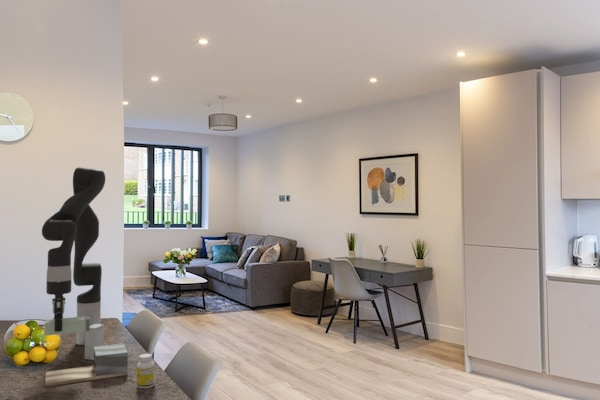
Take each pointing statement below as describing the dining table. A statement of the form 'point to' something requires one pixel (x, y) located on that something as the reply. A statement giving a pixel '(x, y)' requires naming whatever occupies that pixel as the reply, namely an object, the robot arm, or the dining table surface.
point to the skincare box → (93, 339)
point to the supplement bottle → (145, 371)
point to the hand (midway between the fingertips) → (58, 329)
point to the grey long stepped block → (94, 366)
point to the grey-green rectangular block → (67, 325)
